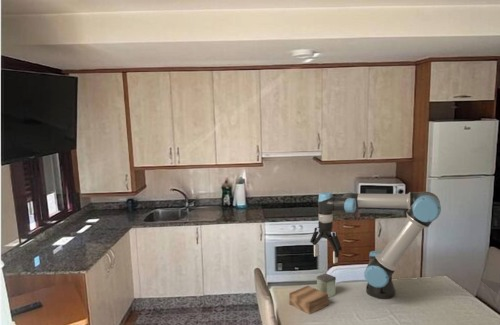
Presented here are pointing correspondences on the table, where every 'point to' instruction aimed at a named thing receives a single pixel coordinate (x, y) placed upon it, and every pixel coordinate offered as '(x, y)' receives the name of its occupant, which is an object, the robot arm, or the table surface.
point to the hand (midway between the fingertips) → (325, 259)
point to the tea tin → (326, 284)
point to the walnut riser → (308, 299)
